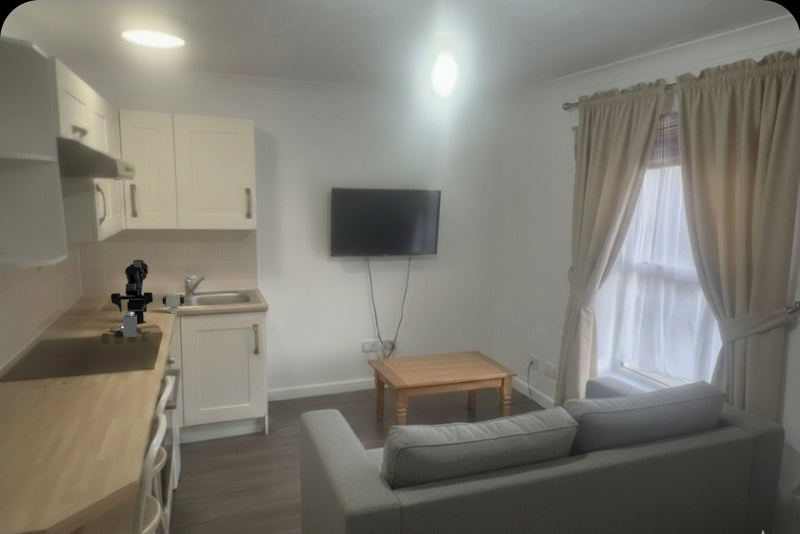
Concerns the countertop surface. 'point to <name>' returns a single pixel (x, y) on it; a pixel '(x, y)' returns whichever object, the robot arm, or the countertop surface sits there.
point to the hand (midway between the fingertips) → (131, 311)
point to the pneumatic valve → (173, 302)
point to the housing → (130, 324)
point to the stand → (149, 328)
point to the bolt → (116, 329)
